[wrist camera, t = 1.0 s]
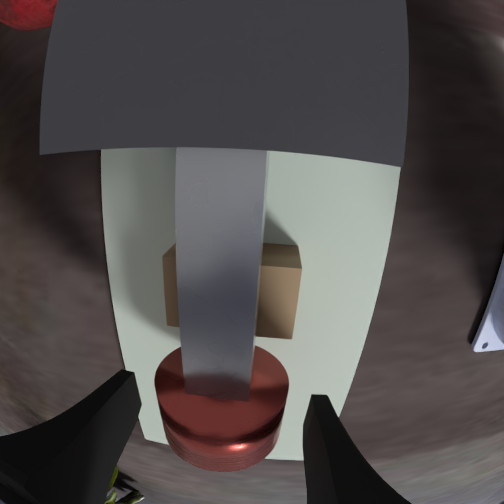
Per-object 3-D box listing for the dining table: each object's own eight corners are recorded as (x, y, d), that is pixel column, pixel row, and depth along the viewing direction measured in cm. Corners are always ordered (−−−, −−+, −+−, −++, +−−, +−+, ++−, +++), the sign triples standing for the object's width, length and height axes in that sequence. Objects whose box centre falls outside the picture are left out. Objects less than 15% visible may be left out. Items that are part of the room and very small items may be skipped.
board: (397, 21, 10) (404, 14, 9) (319, 449, 19) (320, 460, 18) (123, 13, 11) (114, 7, 10) (149, 429, 20) (145, 439, 19)
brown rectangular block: (298, 245, 13) (302, 268, 11) (290, 307, 14) (291, 339, 12) (181, 236, 13) (162, 256, 11) (183, 297, 14) (167, 325, 12)
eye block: (337, 58, 10) (402, -28, 3) (332, 152, 12) (403, 167, 5) (166, 53, 11) (61, -12, 4) (160, 143, 12) (39, 154, 5)
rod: (318, -55, 7) (332, -131, 2) (278, 402, 14) (275, 485, 10) (193, -55, 7) (154, -123, 3) (181, 390, 15) (153, 467, 10)
